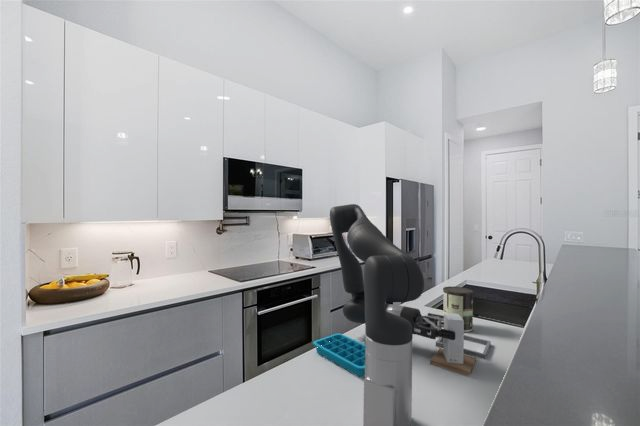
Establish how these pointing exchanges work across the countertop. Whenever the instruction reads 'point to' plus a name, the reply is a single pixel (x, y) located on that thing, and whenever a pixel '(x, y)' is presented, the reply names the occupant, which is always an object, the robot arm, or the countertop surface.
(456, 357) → the skincare box
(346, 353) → the ice cube tray
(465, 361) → the walnut board
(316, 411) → the countertop surface
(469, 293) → the coffee can
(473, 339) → the grey flat rectangular frame
